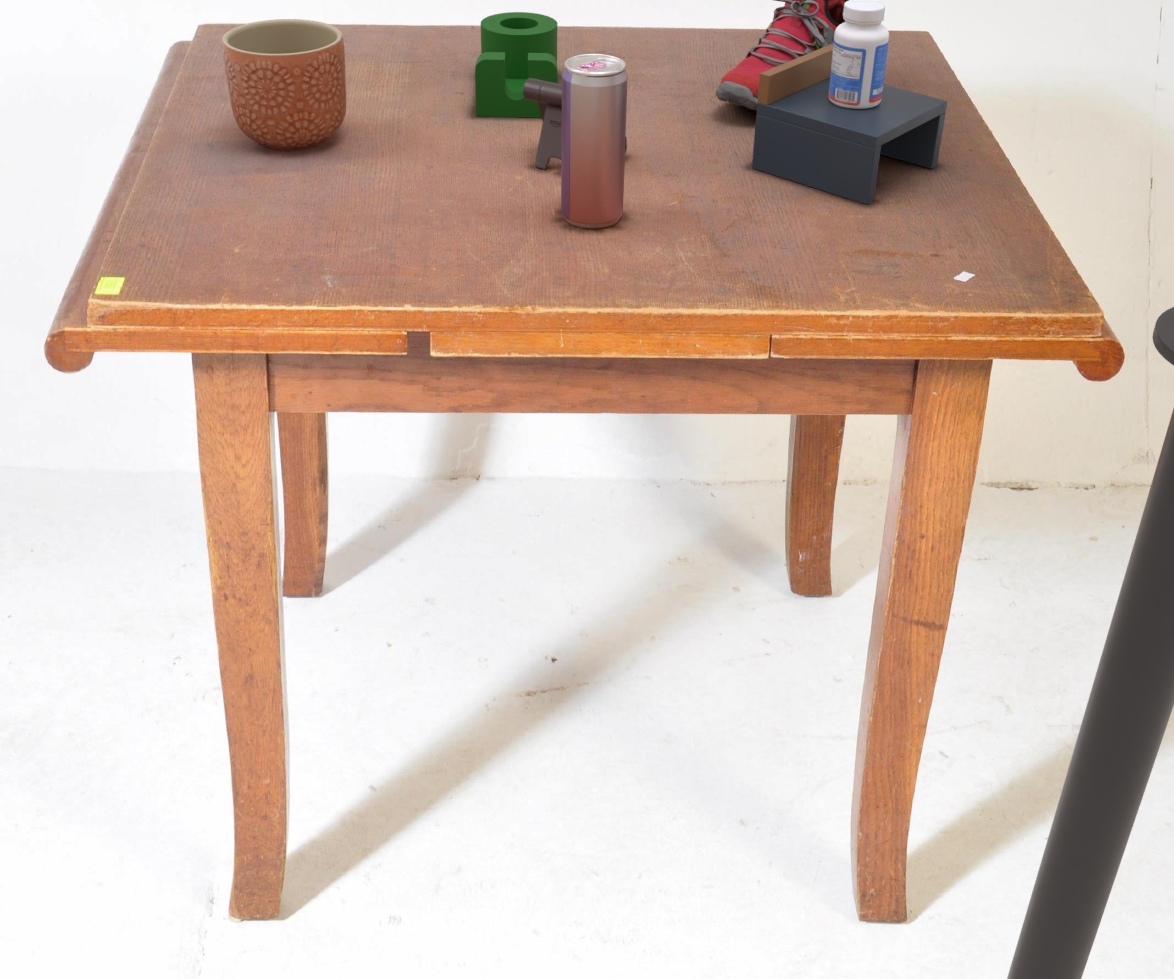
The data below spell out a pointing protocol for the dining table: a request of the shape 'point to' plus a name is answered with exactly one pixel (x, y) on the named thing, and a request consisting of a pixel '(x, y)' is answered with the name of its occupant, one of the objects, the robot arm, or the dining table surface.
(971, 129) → the dining table surface
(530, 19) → the slotted cylinder bracket
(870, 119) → the shelf
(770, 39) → the athletic shoe
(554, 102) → the tablet stand
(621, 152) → the beverage can
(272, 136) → the planter
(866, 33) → the pill bottle
